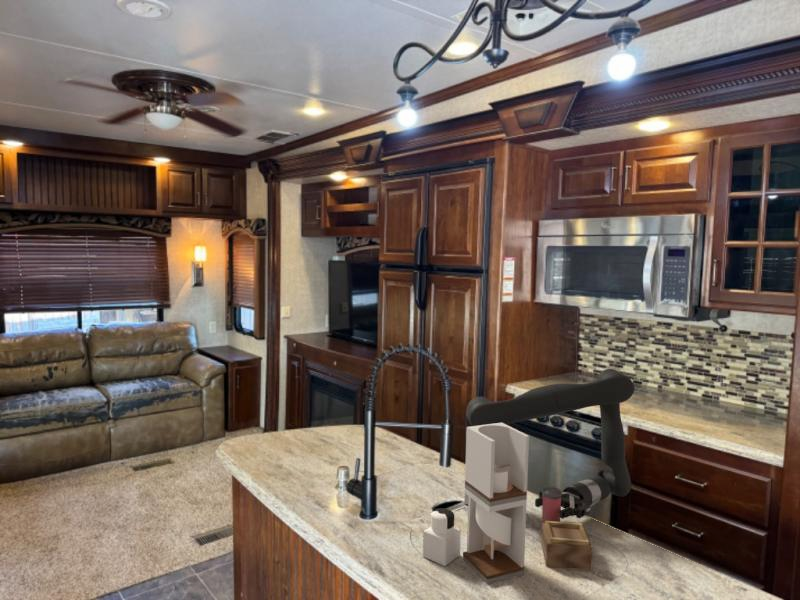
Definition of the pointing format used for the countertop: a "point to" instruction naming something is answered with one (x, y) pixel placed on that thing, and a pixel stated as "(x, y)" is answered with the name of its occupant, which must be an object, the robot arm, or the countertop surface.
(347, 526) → the countertop surface
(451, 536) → the medicine bottle
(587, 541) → the wooden box
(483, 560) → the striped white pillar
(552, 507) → the red lidded canister
